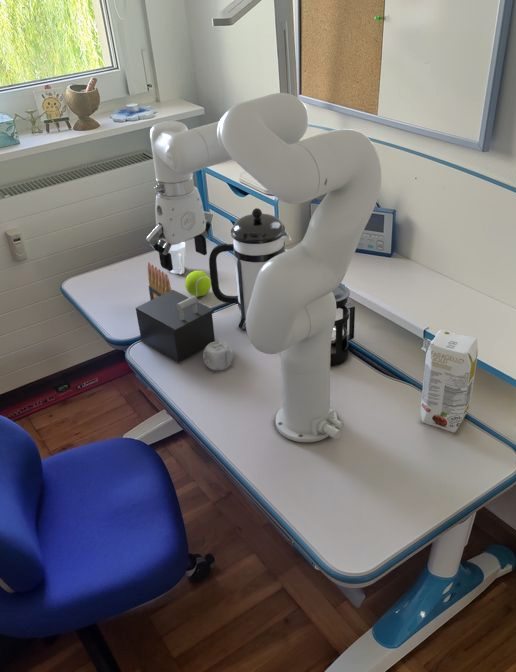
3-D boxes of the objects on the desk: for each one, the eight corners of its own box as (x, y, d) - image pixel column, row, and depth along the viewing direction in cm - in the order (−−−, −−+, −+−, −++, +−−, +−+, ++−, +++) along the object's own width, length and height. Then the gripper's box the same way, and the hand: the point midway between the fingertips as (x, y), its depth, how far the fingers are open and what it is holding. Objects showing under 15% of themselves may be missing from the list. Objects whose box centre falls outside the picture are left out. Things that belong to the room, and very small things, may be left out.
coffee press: (268, 297, 178) (263, 190, 161) (304, 321, 167) (301, 209, 150) (213, 318, 171) (201, 208, 154) (246, 345, 159) (237, 230, 143)
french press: (319, 372, 149) (319, 281, 136) (298, 352, 156) (296, 264, 143) (362, 357, 153) (366, 267, 140) (341, 338, 160) (342, 251, 147)
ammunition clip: (176, 314, 173) (171, 273, 167) (170, 316, 173) (164, 276, 166) (156, 299, 181) (150, 260, 174) (150, 301, 180) (143, 262, 173)
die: (217, 373, 150) (215, 355, 148) (203, 364, 154) (201, 347, 151) (233, 364, 153) (232, 346, 150) (220, 356, 156) (218, 338, 153)
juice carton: (458, 437, 128) (470, 356, 118) (415, 423, 132) (424, 344, 122) (470, 415, 134) (483, 336, 123) (429, 402, 138) (438, 325, 127)
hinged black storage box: (215, 342, 161) (211, 311, 156) (178, 363, 155) (173, 331, 150) (177, 322, 170) (173, 292, 165) (141, 341, 164) (135, 310, 159)
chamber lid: (214, 312, 156) (212, 293, 153) (175, 332, 149) (173, 312, 146) (173, 292, 165) (170, 273, 162) (135, 310, 159) (132, 291, 156)
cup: (184, 263, 199) (181, 238, 194) (196, 276, 191) (193, 251, 186) (162, 268, 196) (158, 243, 192) (173, 282, 189) (169, 256, 184)
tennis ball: (181, 295, 182) (178, 272, 178) (201, 286, 186) (198, 263, 182) (197, 303, 178) (194, 280, 174) (217, 294, 181) (214, 271, 177)
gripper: (153, 202, 127) (164, 280, 137) (219, 177, 137) (225, 252, 147) (130, 193, 132) (142, 269, 142) (195, 170, 142) (203, 242, 151)
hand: (184, 260), depth 144 cm, fingers open, 9 cm apart
